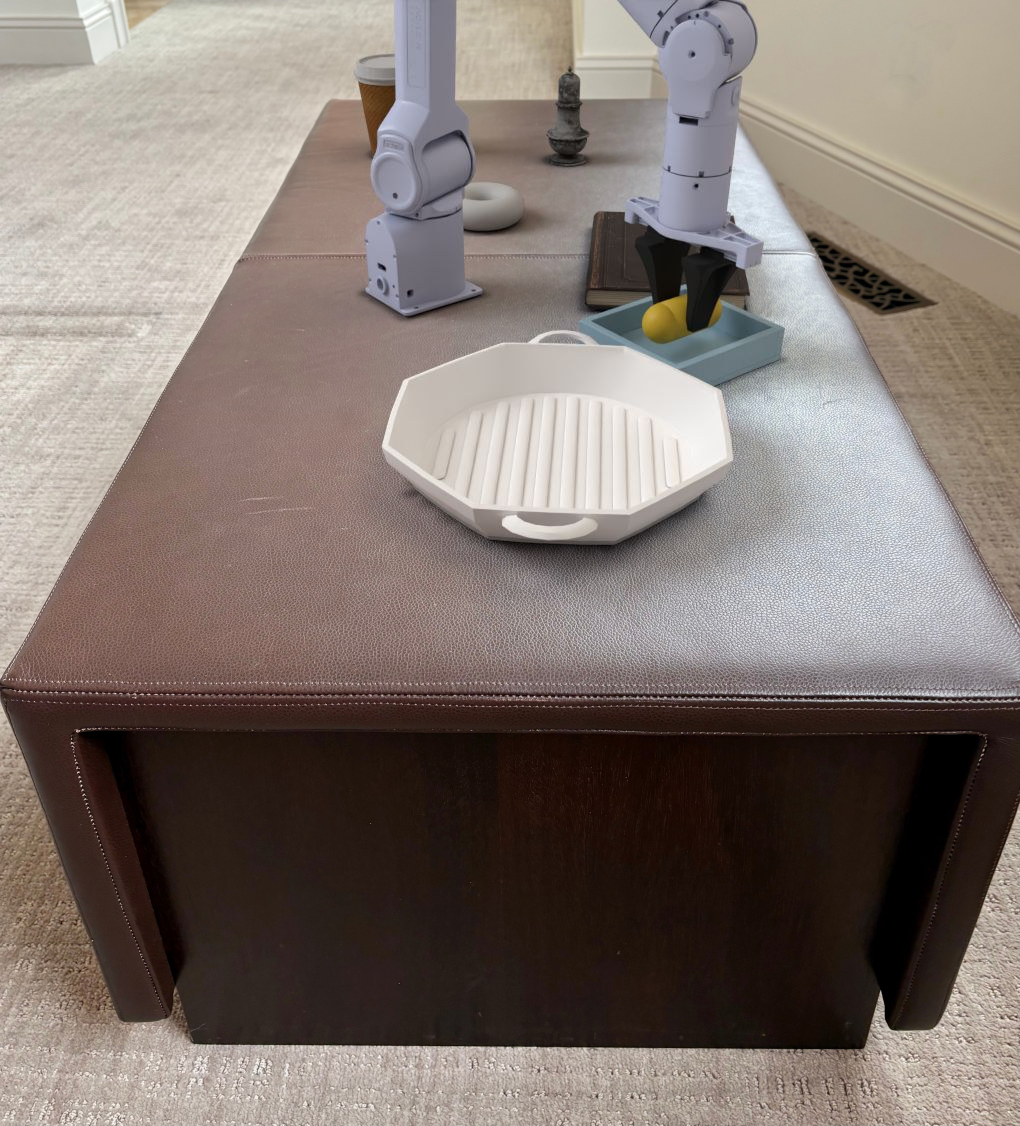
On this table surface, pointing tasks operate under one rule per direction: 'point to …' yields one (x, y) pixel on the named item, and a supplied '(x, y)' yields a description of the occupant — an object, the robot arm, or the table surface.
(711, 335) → the tray
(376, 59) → the disposable coffee cup
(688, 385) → the pan
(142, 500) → the table surface
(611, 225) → the hardcover book
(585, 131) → the salt shaker
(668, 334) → the yellow rounded capsule
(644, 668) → the table surface
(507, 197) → the donut
